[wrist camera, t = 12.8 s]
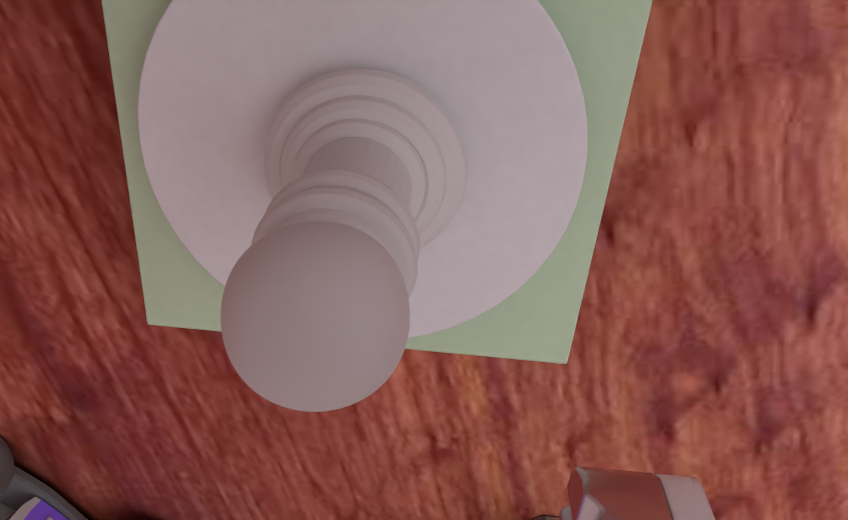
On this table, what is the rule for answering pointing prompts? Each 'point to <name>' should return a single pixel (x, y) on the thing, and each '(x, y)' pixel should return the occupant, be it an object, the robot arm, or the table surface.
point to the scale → (438, 75)
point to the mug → (546, 518)
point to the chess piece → (341, 238)
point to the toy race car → (29, 494)
